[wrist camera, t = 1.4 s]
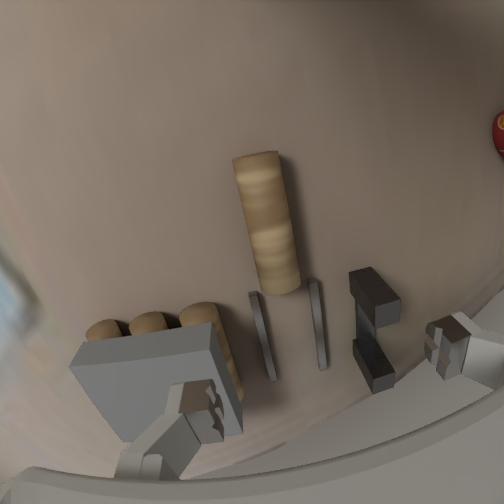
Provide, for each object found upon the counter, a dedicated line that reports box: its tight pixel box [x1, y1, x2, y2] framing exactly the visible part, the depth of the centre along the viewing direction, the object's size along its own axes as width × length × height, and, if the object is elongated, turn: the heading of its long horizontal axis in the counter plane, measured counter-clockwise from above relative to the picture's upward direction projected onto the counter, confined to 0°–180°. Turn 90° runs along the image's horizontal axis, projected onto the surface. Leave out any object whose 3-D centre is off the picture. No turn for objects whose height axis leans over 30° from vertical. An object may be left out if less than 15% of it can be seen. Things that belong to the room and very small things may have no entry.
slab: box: [69, 322, 243, 442], centre depth 28 cm, size 12×14×4 cm
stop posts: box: [349, 267, 401, 394], centre depth 30 cm, size 11×2×7 cm, turn 12°
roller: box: [232, 151, 301, 295], centre depth 27 cm, size 12×4×4 cm, turn 12°
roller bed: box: [86, 278, 327, 402], centre depth 32 cm, size 12×25×4 cm, turn 102°
